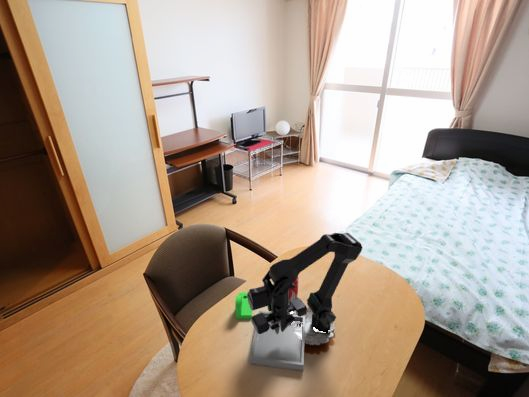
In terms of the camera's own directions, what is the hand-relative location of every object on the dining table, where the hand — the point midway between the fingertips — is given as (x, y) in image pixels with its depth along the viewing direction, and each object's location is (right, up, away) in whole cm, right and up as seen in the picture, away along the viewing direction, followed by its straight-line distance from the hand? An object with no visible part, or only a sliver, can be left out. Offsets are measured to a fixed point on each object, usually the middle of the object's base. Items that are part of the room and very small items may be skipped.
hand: (279, 332), depth 102 cm
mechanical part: (-13, +2, +17) cm, 21 cm away
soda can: (+5, +4, +20) cm, 21 cm away
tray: (0, -4, +2) cm, 5 cm away
